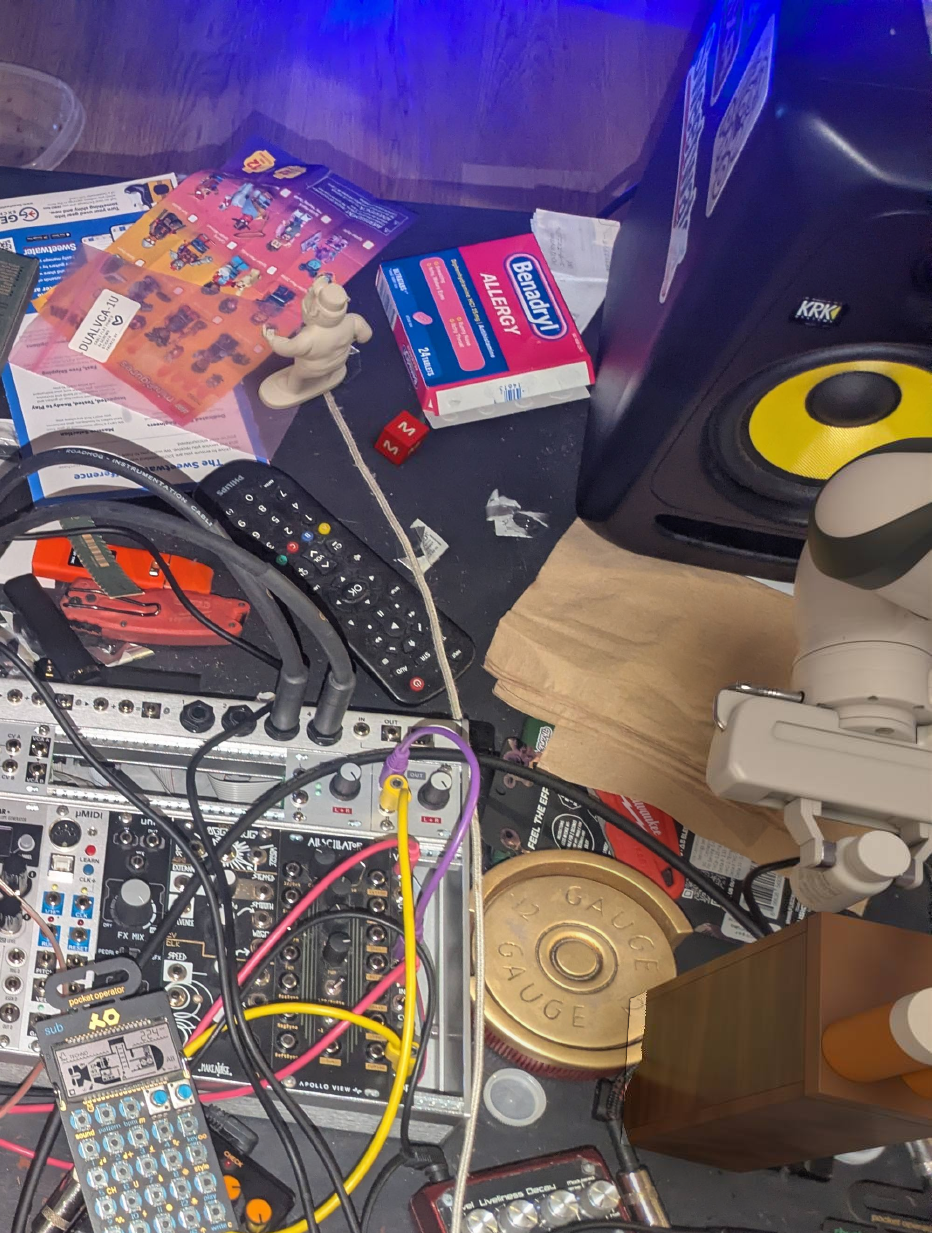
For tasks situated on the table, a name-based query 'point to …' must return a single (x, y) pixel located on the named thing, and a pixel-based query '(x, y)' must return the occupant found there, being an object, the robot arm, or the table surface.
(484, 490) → the table surface
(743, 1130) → the wooden crate
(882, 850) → the pill bottle
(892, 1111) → the shelf
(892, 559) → the robot arm
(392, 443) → the dice
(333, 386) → the figurine
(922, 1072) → the amber bottle
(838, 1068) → the amber bottle
